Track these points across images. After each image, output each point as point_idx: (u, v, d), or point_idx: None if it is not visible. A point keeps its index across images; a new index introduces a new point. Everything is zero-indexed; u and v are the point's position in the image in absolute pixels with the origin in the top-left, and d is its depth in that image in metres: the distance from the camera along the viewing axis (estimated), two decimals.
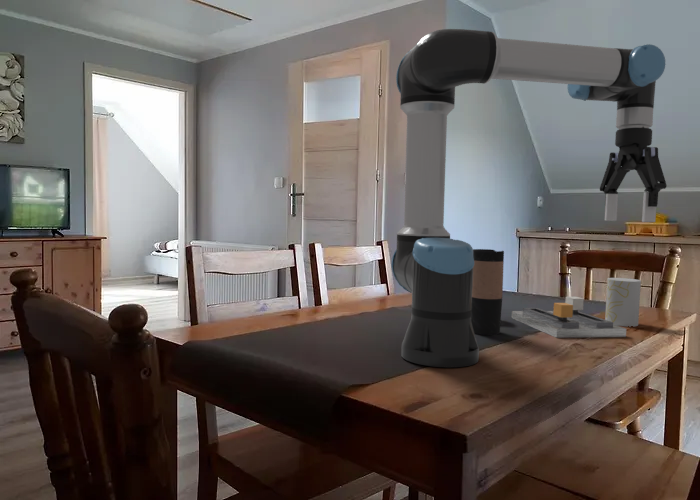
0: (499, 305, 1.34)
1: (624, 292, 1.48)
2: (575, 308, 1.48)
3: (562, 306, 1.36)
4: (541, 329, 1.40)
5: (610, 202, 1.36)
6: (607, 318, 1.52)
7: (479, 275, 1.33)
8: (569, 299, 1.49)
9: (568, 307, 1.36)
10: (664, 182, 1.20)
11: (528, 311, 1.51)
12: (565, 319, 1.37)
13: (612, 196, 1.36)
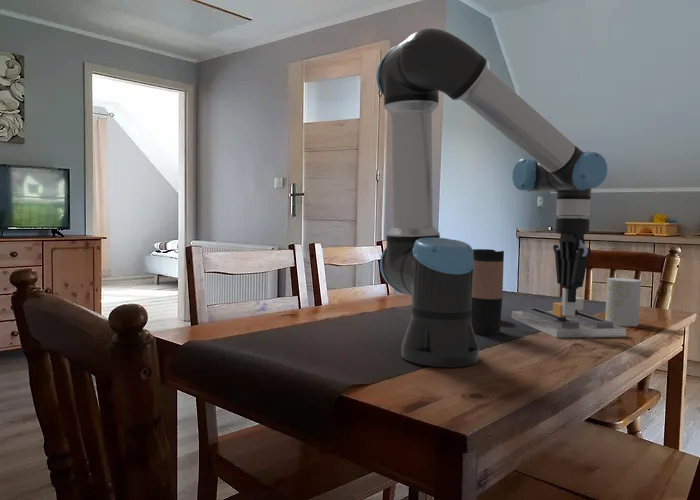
0: (499, 305, 1.34)
1: (624, 292, 1.48)
2: (575, 308, 1.48)
3: (561, 306, 1.36)
4: (541, 329, 1.40)
5: None
6: (607, 318, 1.52)
7: (479, 275, 1.33)
8: None
9: None
10: (581, 283, 1.32)
11: (528, 311, 1.51)
12: (564, 319, 1.38)
13: None
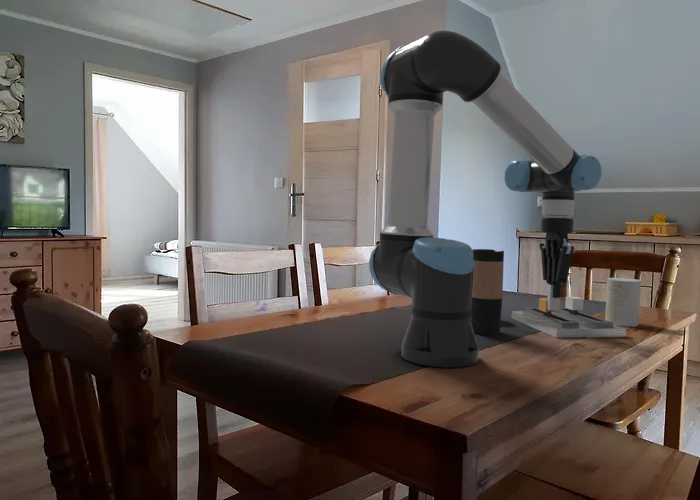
0: (499, 305, 1.34)
1: (624, 292, 1.48)
2: (575, 308, 1.48)
3: None
4: (541, 329, 1.40)
5: None
6: (607, 318, 1.52)
7: (479, 275, 1.33)
8: (569, 299, 1.49)
9: None
10: (565, 279, 1.39)
11: (528, 311, 1.51)
12: (550, 313, 1.45)
13: None
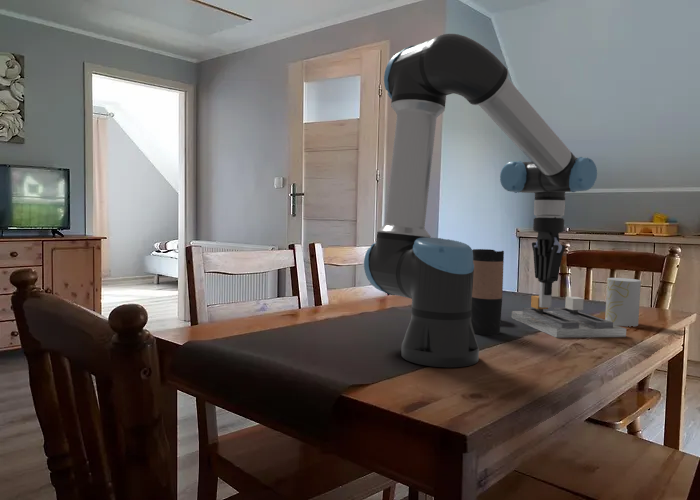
0: (499, 305, 1.34)
1: (624, 292, 1.48)
2: (575, 308, 1.48)
3: (538, 298, 1.48)
4: (541, 329, 1.40)
5: None
6: (607, 318, 1.52)
7: (479, 275, 1.33)
8: (569, 299, 1.49)
9: None
10: (556, 277, 1.43)
11: (528, 311, 1.51)
12: (541, 310, 1.49)
13: None
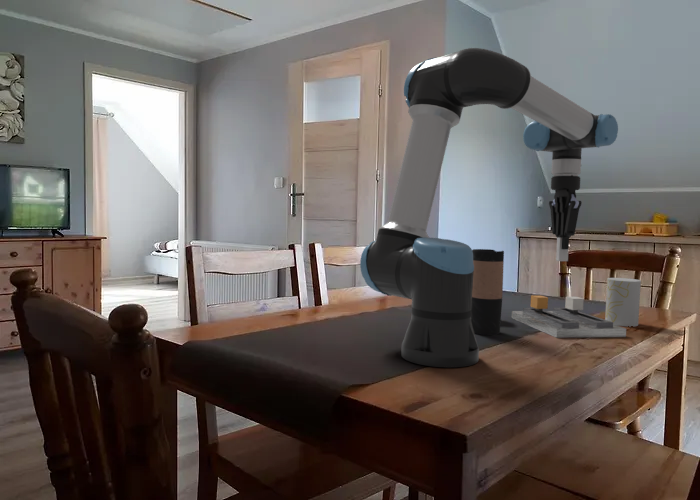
0: (499, 305, 1.34)
1: (624, 292, 1.48)
2: (575, 308, 1.48)
3: (538, 298, 1.48)
4: (541, 329, 1.40)
5: None
6: (607, 318, 1.52)
7: (479, 275, 1.33)
8: (569, 299, 1.49)
9: (543, 299, 1.48)
10: (573, 232, 1.52)
11: (528, 311, 1.51)
12: (541, 310, 1.49)
13: None
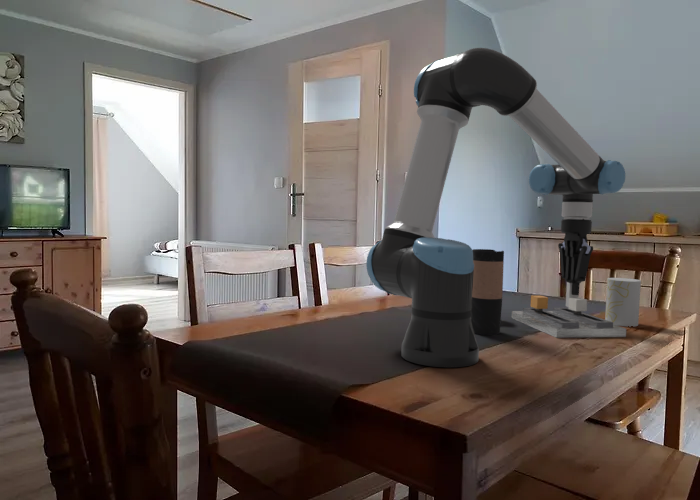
0: (499, 305, 1.34)
1: (624, 292, 1.48)
2: (578, 309, 1.46)
3: (538, 298, 1.48)
4: (541, 329, 1.40)
5: None
6: (607, 318, 1.52)
7: (479, 275, 1.33)
8: (572, 300, 1.47)
9: (543, 299, 1.48)
10: (584, 278, 1.46)
11: (528, 311, 1.51)
12: (541, 310, 1.49)
13: None
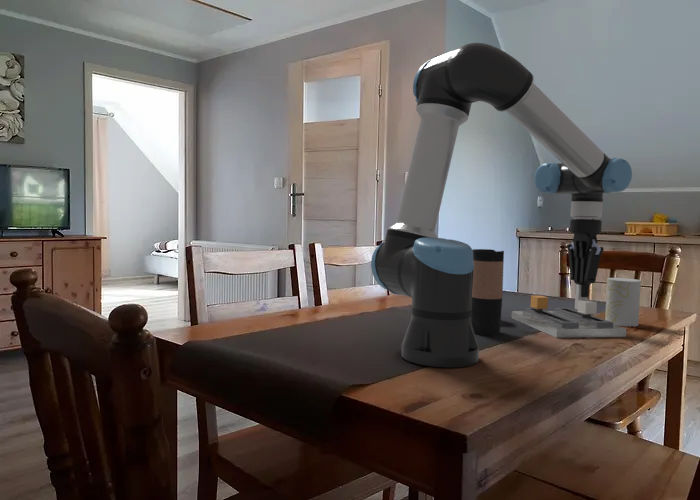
0: (499, 305, 1.34)
1: (624, 292, 1.48)
2: (588, 312, 1.42)
3: (538, 298, 1.48)
4: (541, 329, 1.40)
5: None
6: (607, 318, 1.52)
7: (479, 275, 1.33)
8: (582, 303, 1.43)
9: (543, 299, 1.48)
10: (594, 279, 1.42)
11: (528, 311, 1.51)
12: (541, 310, 1.49)
13: None
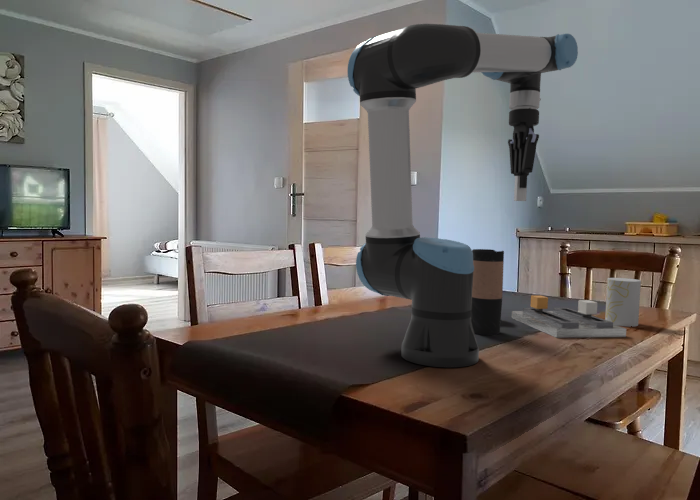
0: (499, 305, 1.34)
1: (624, 292, 1.48)
2: (589, 312, 1.41)
3: (538, 298, 1.48)
4: (541, 329, 1.40)
5: None
6: (607, 318, 1.52)
7: (479, 275, 1.33)
8: (582, 303, 1.43)
9: (543, 299, 1.48)
10: (531, 168, 1.43)
11: (528, 311, 1.51)
12: (541, 310, 1.49)
13: None
